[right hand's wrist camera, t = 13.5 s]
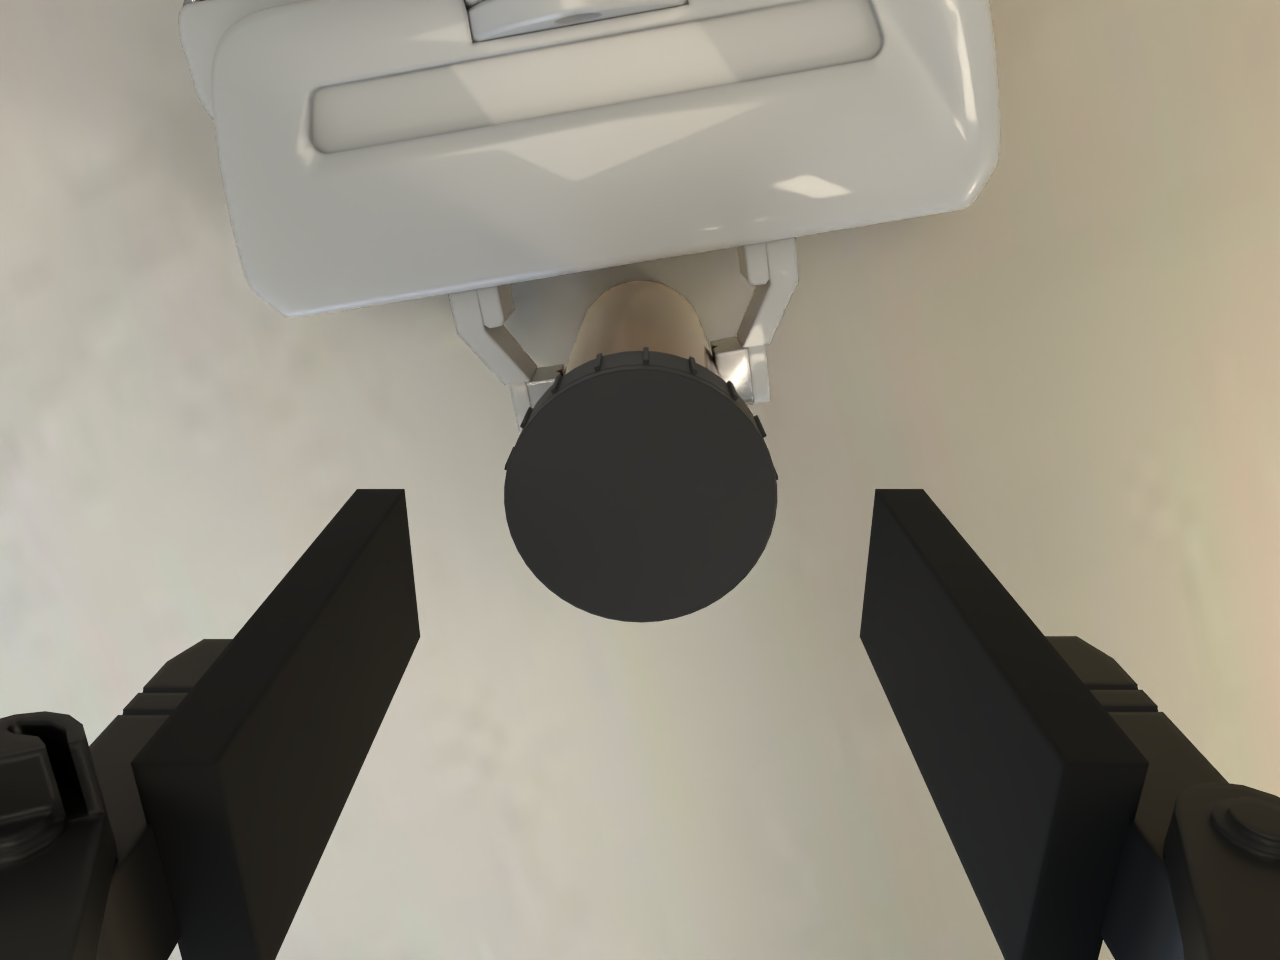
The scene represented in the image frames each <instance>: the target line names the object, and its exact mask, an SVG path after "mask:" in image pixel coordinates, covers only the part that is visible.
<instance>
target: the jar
mask: <svg viewBox="0 0 1280 960" xmlns="http://www.w3.org/2000/svg"><path fill="white" fill-rule="evenodd" d="M643 347H649V351H656V352H662V353H667V354H673V355H676V356H679V357H682V358H685V359H689V357H690V356H691V357H693V358H695V362H696V363H697V364H699V365H701V366H704V367H706V368H707V369H709V370H710V371H712V372H713V373H715V374H716V375H718V376H719V374H718V372H717V369H716V366H715V363H714V360H713V357H712V354H711V352H710V349H709V346H708V343H707V340H706V337H705V334H704V332H703V329H702V326H701V323H700V320H699V318H698V316H697V314H696V312H695V310H694V309H693V307H692V306H691V304H690V303H689V302H688V301H687V300H686V299H685V298H684V297H683V296H682V295H681V294H679V293H678V292H677V291H675V290H674V289H672V288H670V287H668V286H666V285H663V284H660V283H657V282H652V281H631V282H626V283H622V284H620V285H617V286H615V287H613V288H611V289H609V290H607V291H606V292H604V293H603V294H602V295H601V296H599V297H598V298H597V299H596V300H595V301H594V303H593V304H592V305H591V306H590V308H589V309H588V311H587V313H586V315H585V317H584V319H583V321H582V324H581V327H580V330H579V332H578V335H577V338H576V341H575V344H574V346H573V349H572V352H571V355H570V358H569V360H568V363H567V366H566V369H565V372H564V374H563V376H564V375H565V374H567V373H568V372H570V371H571V370H573V369H574V368H576V367H578V366H580V365H582V364H584V363H586V362H588V361H590V360H593V359H596V356H597V354H599V353H602V355H603V356H605V355H609V354H614V353H619V352H627V351H643Z"/></svg>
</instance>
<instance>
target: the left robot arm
mask: <svg viewBox="0 0 1280 960" xmlns="http://www.w3.org/2000/svg"><path fill="white" fill-rule="evenodd" d="M178 23H179V33H180V39H181V43H182V46H183V49H184V53H185V56H186V59H187V62H188V65H189V69H190V72H191V75H192V78H193V82H194V85H195V88H196V91H197V94H198V96H199V98H200V100H201V102H202V104H203V106H204V107H205V109H206V110H207V112H208V114H209V115H210V116H211V118H212V119H213V120H214V128H215V136H216V142H217V149H218V155H219V162H220V169H221V175H222V180H223V185H224V191H225V196H226V201H227V206H228V211H229V216H230V220H231V224H232V229H233V233H234V237H235V241H236V245H237V249H238V253H239V257H240V261H241V265H242V268H243V271H244V275H245V278H246V280H247V282H248V285H249V286H250V288H251V289H252V290H253V291H254V293H256V294H257V295H258V296H259V297H260V298H262V299H263V300H264V301H265V302H266V303H267V304H269V305H270V306H271V307H272V308H273V309H275V310H276V311H277V312H279V313H280V314H281V315H283V316H284V317H287V318H291V319H295V318H302V317H309V316H315V315H321V314H327V313H333V312H339V311H345V310H352V309H358V308H364V307H370V306H376V305H382V304H388V303H394V302H401V301H407V300H413V299H419V298H425V297H431V296H437V295H443V294H448V295H449V300H450V304H451V308H452V312H453V317H454V321H455V325H456V329H457V334H458V335H459V336H460V337H461V338H462V339H463V340H464V342H465V343H466V344H467V345H468V346H469V347H470V348H471V349H472V350H473V351H474V352H475V353H476V355H477V356H478V357H479V358H480V359H481V360H482V361H483V362H484V363H485V364H486V365H487V367H488V368H489V369H490V370H491V371H492V372H493V373H494V374H495V375H496V376H497V377H498V379H499V380H500V381H501V382H502V383H503V384H504V385H509V387H510V391H511V396H512V400H513V405H514V410H515V414H516V419H517V423H518V428H519V432H520V433H521V431H522V429H523V428H521V427H520V425H521V423H522V420H523V418H524V416H525V414H526V412H527V410H528V408H529V407H531V408H534V406H535V404H536V403H537V401H538V400H539V399H540V398H541V397H542V395H543V394H544V393H545V392H546V391H547V390H548V388H550V387H551V386H552V385H553V384H554V381H555V379H556V376H557V375H559V374H561V375H562V376H563V374H564V372H565V369H564V365H563V364H562V365H554V366H547V367H539V368H537V367H538V366H537V365H536V364H535V363H534V362H533V360H532V359H531V358H530V357H529V356H528V354H527V353H526V352H525V351H524V350H523V348H522V347H521V346H520V345H519V344H518V342H517V341H516V340H515V339H514V338H513V336H512V335H511V334H510V333H509V332H508V330H507V329H506V328H505V327H504V325H503V324H504V322H505V321H506V320H507V319H508V317H509V316H510V315H511V314H512V312H513V311H514V310H515V308H514V303H513V298H512V293H511V288H510V284H511V283H517V282H523V281H529V280H535V279H542V278H548V277H554V276H560V275H566V274H572V273H578V272H584V271H591V270H597V269H603V268H609V267H615V266H621V265H627V264H633V263H640V262H646V261H652V260H658V259H664V258H670V257H676V256H682V255H689V254H695V253H701V252H707V251H713V250H719V249H725V248H731V247H737V249H738V256H739V264H740V272H741V274H742V275H743V276H744V277H745V279H746V280H747V281H748V282H749V283H750V284H751V285H753V286H756V288H755V290H754V292H753V295H752V297H751V300H750V302H749V305H748V307H747V310H746V312H745V314H744V317H743V319H742V322H741V324H740V327H739V329H738V332H737V334H736V335H737V336H736V337H731V338H725V339H720V340H714V341H710V343H711V351H712V357H713V360H714V363H715V366H716V369H717V372H718V374H719V377H721V378H722V379H723V380H724V381H725V382H726V383H727V382H728V381H729V380H730V381H731V382H732V383H733V385H734V387H735V390H736V392H737V394H738V395H739V396H740V397H741V398H742V399H743V401H744V402H745V404H746V405H752V404H758V403H765V402H770V384H769V375H768V366H767V356H766V347H765V345H767V344H770V342H771V340H772V338H773V335H774V333H775V331H776V329H777V327H778V324H779V322H780V320H781V318H782V316H783V313H784V311H785V309H786V307H787V305H788V302H789V300H790V298H791V296H792V294H793V291H794V289H795V287H796V285H797V283H798V281H799V276H798V265H797V253H796V242H795V237H799V236H805V235H811V234H817V233H823V232H830V231H836V230H842V229H848V228H854V227H860V226H866V225H872V224H879V223H885V222H891V221H897V220H903V219H909V218H915V217H921V216H928V215H934V214H940V213H946V212H952V211H958V210H963V209H965V208H968V207H969V206H970V205H971V204H973V202H974V201H975V200H976V198H977V197H978V195H979V194H980V193H981V191H982V189H983V188H984V186H985V185H986V183H987V182H988V180H989V178H990V177H991V175H992V173H993V172H994V170H995V169H996V166H997V163H998V161H999V154H1000V104H999V86H998V73H997V61H996V51H995V42H994V33H993V24H992V16H991V10H990V3H989V0H184V3H183V7H182V8H181V10H180V12H179V21H178Z"/></svg>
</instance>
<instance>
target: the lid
mask: <svg viewBox="0 0 1280 960" xmlns="http://www.w3.org/2000/svg"><path fill="white" fill-rule="evenodd" d="M520 427H521V428H523V429H522V431H521V433H520V436H519V438H518V440H517V442H516V445H515V447H513V449H512V451H511V453H510V456H509V458H508V460H507V463H506V465H505V470H507V472H506V479H505V486H504V505H505V512H506V519H507V523H508V526H509V530H510V533H511V536H512V539H513V541H514V543H515V546H516V548H517V550H518V552H519V554H520V555H521V557H522V558H523V560H524V562H525V563H526V565H527V566H528V567H529V569H530V570H531V571H532V572H533V574H534V575H535V576H536V577H537V578H538V579H539V580H540V581H541V582H542V583H543V584H544V585H545V586H546V587H547V588H548V589H549V590H550V591H552V592H553V593H554V594H556V595H557V596H559V597H560V598H561V599H563V600H564V601H566V602H568V603H570V604H571V605H573V606H575V607H577V608H579V609H581V610H584V611H586V612H588V613H591V614H594V615H597V616H601V617H604V618H607V619H613V620H619V621H625V622H656V621H663V620H669V619H674V618H678V617H681V616H684V615H688V614H691V613H693V612H696V611H698V610H700V609H702V608H705V607H707V606H709V605H710V604H712V603H714V602H715V601H717V600H719V599H720V598H722V597H723V596H724V595H726V594H727V593H728V592H730V591H731V590H732V589H734V588H735V587H736V586H737V585H738V584H739V583H740V582H741V581H742V580H743V579H744V578H745V577H746V576H747V574H748V573H749V572H750V571H751V569H752V568H753V567H754V565H755V564H756V563H757V561H758V559H759V558H760V556H761V554H762V553H763V551H764V549H765V547H766V545H767V542H768V540H769V537H770V535H771V532H772V528H773V525H774V521H775V516H776V508H777V482H776V480H778V475H777V473H776V470H775V468H774V466H773V463H772V460H771V456H770V453H769V451H768V448H767V446H766V444H765V441H764V439H763V438H764V437H766V433H765V431H764V429H763V427H762V424H761V422H760V420H759V418H758V416H757V415H756V416H754V417H753V415H752V413H751V411H750V410H749V408H748V407H747V405H746V404H745V402H744V401H743V399H742V398H741V397H740V396H739V395H738V394H737V392H736V390H735V387H734V385H733V383H732V382H731V381H730V380H729V381H728V382H727V383H726V382H725V381H724V380H723V379H722V378H721V377H719V376H718V375H716V374H715V373H713V372H712V371H710V370H709V369H707V368H706V367H704V366H701V365H699V364H697V363H696V362H695V358H693V357H691V356H690V357H689V359H685V358H682V357H679V356H676V355H673V354H667V353H662V352H656V351H649V347H643V351H627V352H619V353H614V354H609V355H605V356H603V355H602V353H599V354H597V356H596V359H593V360H590V361H588V362H586V363H584V364H582V365H580V366H578V367H576V368H574V369H573V370H571V371H570V372H568V373H567V374H565V375H564V376H562V375H561V374H559V375H557V376H556V379H555V381H554V384H553V385H552V386H551V387H550V388H548V390H547V391H546V392H545V393H544V394H543V395H542V397H541V398H540V399H539V400H538V401H537V403H536V404H535V406H534V408H531V407H529V408H528V410H527V412H526V414H525V416H524V418H523V420H522V423H521V425H520Z"/></svg>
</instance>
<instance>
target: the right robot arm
mask: <svg viewBox="0 0 1280 960" xmlns="http://www.w3.org/2000/svg"><path fill="white" fill-rule="evenodd" d="M419 638H420V630H419V621H418V611H417V602H416V593H415V583H414V574H413V564H412V555H411V546H410V536H409V527H408V518H407V508H406V499H405V489H357V490H356V491H355V492H354V494H353V495H352V496H351V497H350V498H349V500H348V501H347V502H346V503H345V504H344V506H343V507H342V508H341V509H340V510H339V512H338V513H337V514H336V515H335V517H334V518H333V519H332V520H331V521H330V523H329V524H328V525H327V526H326V527H325V529H324V530H323V531H322V532H321V533H320V535H319V536H318V537H317V538H316V539H315V541H314V542H313V543H312V544H311V546H310V547H309V548H308V549H307V550H306V552H305V553H304V554H303V555H302V556H301V558H300V559H299V560H298V561H297V562H296V564H295V565H294V566H293V567H292V568H291V570H290V571H289V572H288V573H287V574H286V576H285V577H284V578H283V579H282V581H281V582H280V583H279V584H278V585H277V587H276V588H275V589H274V590H273V591H272V593H271V594H270V595H269V596H268V597H267V599H266V600H265V601H264V602H263V603H262V605H261V606H260V607H259V608H258V609H257V611H256V612H255V613H254V614H253V616H252V617H251V618H250V619H249V620H248V622H247V623H246V624H245V625H244V626H243V628H242V629H241V630H240V631H239V632H238V634H237V635H236V636H235V637H234V638H233V639H203V640H202V641H200V642H198V643H197V644H195V645H194V646H192V647H190V648H189V649H187V650H185V651H184V652H182V653H180V654H179V655H177V656H176V657H174V658H172V659H171V660H169V661H167V662H166V664H165V665H164V666H163V667H162V668H161V669H160V670H159V671H158V672H157V673H156V674H155V675H154V677H153V678H152V679H151V680H150V681H149V682H148V683H147V684H146V685H145V686H144V687H143V693H138V694H137V695H136V696H135V697H134V698H133V699H132V700H131V702H130V703H129V704H128V705H127V706H126V707H125V708H124V709H123V715H118V716H117V717H116V718H115V719H114V720H113V721H112V722H111V723H110V724H109V725H108V727H107V728H106V729H105V730H104V731H103V732H102V733H101V734H100V735H99V736H98V737H97V738H96V740H95V741H94V742H93V743H92V744H91V745H90V746H88V742H87V738H86V735H85V731H84V728H83V725H82V724H81V723H80V722H78V721H77V720H76V719H74V718H73V717H71V716H70V715H67V714H60V713H53V712H46V711H45V712H35V713H25V714H16V715H12V716H8V717H4V718H1V719H0V960H168V958H169V956H170V955H171V953H172V951H173V949H174V948H175V946H176V944H177V943H178V945H179V949H180V953H181V957H182V960H275V959H276V956H277V954H278V952H279V950H280V947H281V945H282V943H283V941H284V939H285V936H286V934H287V932H288V930H289V927H290V925H291V923H292V921H293V918H294V916H295V914H296V912H297V910H298V907H299V905H300V903H301V901H302V898H303V896H304V894H305V892H306V890H307V887H308V885H309V883H310V881H311V878H312V876H313V874H314V872H315V870H316V867H317V865H318V863H319V861H320V858H321V856H322V854H323V852H324V850H325V847H326V845H327V843H328V841H329V838H330V836H331V834H332V832H333V830H334V827H335V825H336V823H337V821H338V818H339V816H340V814H341V812H342V810H343V807H344V805H345V803H346V801H347V798H348V796H349V794H350V792H351V789H352V787H353V785H354V783H355V781H356V778H357V776H358V774H359V772H360V769H361V767H362V765H363V763H364V761H365V758H366V756H367V754H368V752H369V749H370V747H371V745H372V743H373V741H374V738H375V736H376V734H377V732H378V729H379V727H380V725H381V723H382V721H383V718H384V716H385V714H386V712H387V709H388V707H389V705H390V703H391V701H392V698H393V696H394V694H395V692H396V689H397V687H398V685H399V683H400V680H401V678H402V676H403V674H404V672H405V669H406V667H407V665H408V663H409V660H410V658H411V656H412V654H413V652H414V649H415V647H416V645H417V643H418V640H419ZM860 638H861V640H862V643H863V645H864V647H865V649H866V652H867V654H868V656H869V658H870V660H871V663H872V665H873V667H874V669H875V672H876V674H877V676H878V678H879V681H880V683H881V685H882V687H883V689H884V692H885V694H886V696H887V698H888V701H889V703H890V705H891V707H892V709H893V712H894V714H895V716H896V718H897V721H898V723H899V725H900V727H901V729H902V732H903V734H904V736H905V738H906V741H907V743H908V745H909V747H910V749H911V752H912V754H913V756H914V758H915V761H916V763H917V765H918V767H919V769H920V772H921V774H922V776H923V778H924V781H925V783H926V785H927V787H928V789H929V792H930V794H931V796H932V798H933V801H934V803H935V805H936V807H937V810H938V812H939V814H940V816H941V818H942V821H943V823H944V825H945V827H946V830H947V832H948V834H949V836H950V838H951V841H952V843H953V845H954V847H955V850H956V852H957V854H958V856H959V858H960V861H961V863H962V865H963V867H964V870H965V872H966V874H967V876H968V878H969V881H970V883H971V885H972V887H973V890H974V892H975V894H976V896H977V898H978V901H979V903H980V905H981V907H982V910H983V912H984V914H985V916H986V919H987V921H988V923H989V925H990V927H991V930H992V932H993V934H994V936H995V939H996V941H997V943H998V945H999V947H1000V950H1001V952H1002V954H1003V956H1004V959H1005V960H1098V957H1099V953H1100V949H1101V945H1102V941H1103V940H1104V941H1105V943H1106V945H1107V947H1108V948H1109V950H1110V952H1111V953H1112V955H1113V957H1114V959H1115V960H1280V798H1279V797H1277V796H1275V795H1272V794H1269V793H1266V792H1263V791H1259V790H1256V789H1253V788H1250V787H1247V786H1244V785H1236V784H1229V783H1228V782H1227V781H1226V780H1225V779H1224V778H1223V776H1222V775H1221V774H1220V773H1219V772H1218V771H1217V770H1216V769H1215V768H1214V767H1213V766H1212V765H1211V764H1210V762H1209V761H1208V760H1207V759H1206V758H1205V757H1204V756H1203V755H1202V754H1201V753H1200V752H1199V751H1198V749H1197V748H1196V747H1195V746H1194V745H1193V744H1192V743H1191V742H1190V741H1189V740H1188V739H1187V738H1186V737H1185V735H1184V734H1183V733H1182V732H1181V731H1180V730H1179V729H1178V728H1177V727H1176V726H1175V725H1174V724H1173V722H1172V721H1171V720H1170V719H1169V718H1168V717H1167V716H1166V715H1165V714H1164V713H1163V712H1158V709H1157V708H1158V706H1157V705H1156V704H1155V703H1154V702H1153V701H1152V700H1151V699H1150V698H1149V697H1148V696H1147V694H1146V693H1145V692H1144V691H1143V690H1138V688H1137V684H1136V683H1135V681H1134V680H1133V679H1132V678H1131V677H1130V676H1129V675H1128V674H1127V673H1126V672H1125V671H1124V670H1123V669H1122V667H1121V666H1120V665H1119V664H1118V663H1117V662H1116V661H1115V660H1114V659H1113V658H1111V657H1110V656H1108V655H1106V654H1105V653H1103V652H1102V651H1100V650H1098V649H1097V648H1095V647H1093V646H1092V645H1090V644H1088V643H1087V642H1085V641H1083V640H1082V639H1080V638H1078V637H1077V636H1044V635H1043V634H1042V632H1041V631H1040V630H1039V629H1038V628H1037V626H1036V625H1035V624H1034V623H1033V622H1032V620H1031V619H1030V618H1029V617H1028V616H1027V614H1026V613H1025V612H1024V611H1023V609H1022V608H1021V607H1020V606H1019V605H1018V603H1017V602H1016V601H1015V600H1014V599H1013V597H1012V596H1011V595H1010V594H1009V593H1008V591H1007V590H1006V589H1005V588H1004V587H1003V585H1002V584H1001V583H1000V582H999V581H998V579H997V578H996V577H995V576H994V574H993V573H992V572H991V571H990V570H989V568H988V567H987V566H986V565H985V564H984V562H983V561H982V560H981V559H980V558H979V556H978V555H977V554H976V553H975V552H974V550H973V549H972V548H971V547H970V546H969V544H968V543H967V542H966V541H965V539H964V538H963V537H962V536H961V535H960V533H959V532H958V531H957V530H956V529H955V527H954V526H953V525H952V524H951V523H950V521H949V520H948V519H947V518H946V517H945V515H944V514H943V513H942V512H941V511H940V509H939V508H938V507H937V506H936V504H935V503H934V502H933V501H932V500H931V498H930V497H929V496H928V495H927V494H926V492H925V491H924V490H923V489H875V499H874V508H873V517H872V527H871V536H870V546H869V555H868V564H867V574H866V583H865V593H864V602H863V611H862V621H861V630H860Z"/></svg>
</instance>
